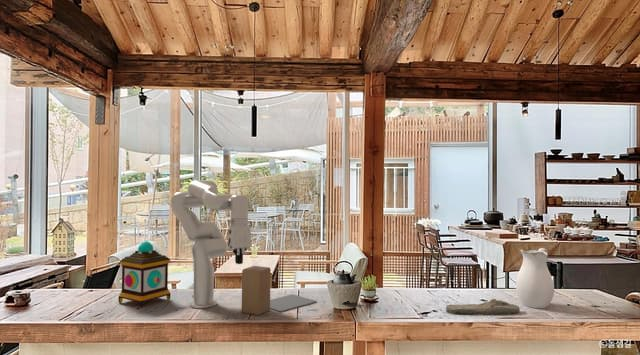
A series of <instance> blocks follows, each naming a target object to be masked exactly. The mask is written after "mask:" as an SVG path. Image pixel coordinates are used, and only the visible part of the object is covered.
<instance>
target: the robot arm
mask: <svg viewBox="0 0 640 355" xmlns="http://www.w3.org/2000/svg"><path fill="white" fill-rule="evenodd" d="M188 184H189V185H188V186H187V191H178V192H175V193H174V194H173V195H172V196H171V198H170V207H171V211H172V213H173V214H174V216H175V217H176V219H177V220H178V222H179V223H180V225H181V227H182V229H183V232H184V233H185V235H186V236H187V238H188V240H189V241H190V242H193V244H192V247H191V253H192V260H193V294H192V295H191V298H192V299H193V300H191V301H190V303H189V306H190V307H191V308H195V309H207V308H212V307H215V306H216V305H217V304H218V301H217V300H216V299H215V298H214V297H215V295H214V294H215V293H214V291H215V268H214V264H213V262H212V261H211V259H215V258H221V257H224V256H225V255H227V252H232V253H233V254H234V256H235V258H234V261H235V264H236V265H243V263H244V262H243V261H244V255H245V252H246V251H247V250H250V248H251V246H252V232H251V227H250V224H248V223H249V198H248V195H246V194H236V193H219V190H218V185H217V183H216V182H214V181H212V180H201V179H200V180H194V181H191V182H189V183H188ZM203 207H206V208H208V209H210V210H213V211H217V212H223V211H225V212H226V211H229V212H230V220H228V224H230V225H229V227H228V233H227V241H226V239H225V237H224V236H223V234H222V232H221V230H220V228H219V227H218V225H217V224H216V223H214V222H212V221H204V222H203V221H200V219H199V218H198V216H197V214H196V213H195V212H194V211H193V210H191V209H192V208H193V209H194V208H203ZM190 208H191V209H190Z"/></svg>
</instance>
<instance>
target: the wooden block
mask: <svg viewBox="0 0 640 355" xmlns="http://www.w3.org/2000/svg"><path fill="white" fill-rule="evenodd" d="M271 270H272V269H271V267H268V266H259V265H251V266H248V267H246V268H243V269H242V271H241V313H244V314H248V315H255V316H260V315H262V314H264V313H266V312H268V311H269V310H271V309H270V300H271V272H272V271H271Z"/></svg>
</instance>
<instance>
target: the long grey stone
mask: <svg viewBox="0 0 640 355" xmlns="http://www.w3.org/2000/svg"><path fill="white" fill-rule="evenodd" d="M445 312H446V313H447V314H452V315H455V314H458V315H471V314H472V315H478V314H479V315H483V314H484V315H502V314H503V315H511V314H516V313H519V312H520V306H519V305H516V304H513V303H512V304H511V303H509V302H507V301H503V300H498V299H497V300H496V298H493V299H490V300H489V301H486V302H483V303H478V304H476V303H473V304H472V303H471V304H469V303H467V304H463V303H462V304H451V303H450V304H448V305H446V307H445Z"/></svg>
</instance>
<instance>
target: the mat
mask: <svg viewBox="0 0 640 355" xmlns="http://www.w3.org/2000/svg"><path fill="white" fill-rule="evenodd" d="M315 303H318V301H317V300H314V299H310V298H308V297H303V296H301V295H297V294H294V293H291V294H288V295H284V296H279V297H276V298H270V310H272V311H275V312H278V313H283V312H287V311H291V310H294V309H297V308H302V307H305V306H308V305H312V304H315Z"/></svg>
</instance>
